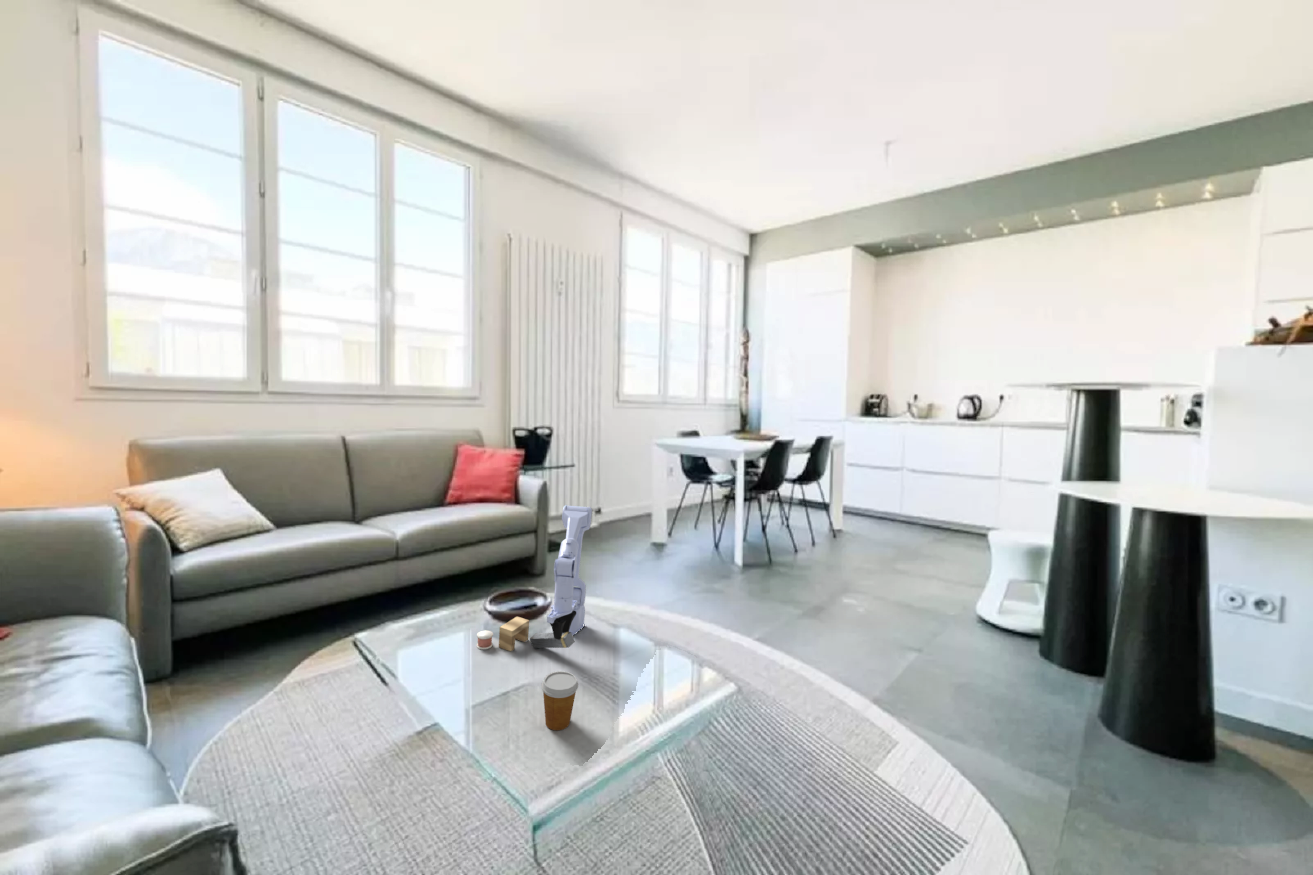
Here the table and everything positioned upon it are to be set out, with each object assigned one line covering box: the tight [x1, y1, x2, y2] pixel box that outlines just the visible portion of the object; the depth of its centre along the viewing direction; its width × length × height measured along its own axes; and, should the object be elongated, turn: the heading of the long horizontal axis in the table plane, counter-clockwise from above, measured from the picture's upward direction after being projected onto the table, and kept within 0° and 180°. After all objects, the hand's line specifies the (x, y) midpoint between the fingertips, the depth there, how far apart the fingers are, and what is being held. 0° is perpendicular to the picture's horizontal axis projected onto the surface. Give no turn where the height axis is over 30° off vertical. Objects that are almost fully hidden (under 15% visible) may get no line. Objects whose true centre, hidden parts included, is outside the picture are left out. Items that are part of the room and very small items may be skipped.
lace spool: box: [476, 630, 494, 650], centre depth 182 cm, size 5×5×4 cm
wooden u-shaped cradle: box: [498, 616, 530, 652], centre depth 185 cm, size 9×5×7 cm, turn 157°
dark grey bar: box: [529, 632, 575, 649], centre depth 180 cm, size 3×16×4 cm, turn 57°
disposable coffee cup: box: [540, 670, 579, 731], centre depth 146 cm, size 10×10×12 cm
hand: (561, 635), depth 177 cm, fingers closed on dark grey bar, 4 cm apart
